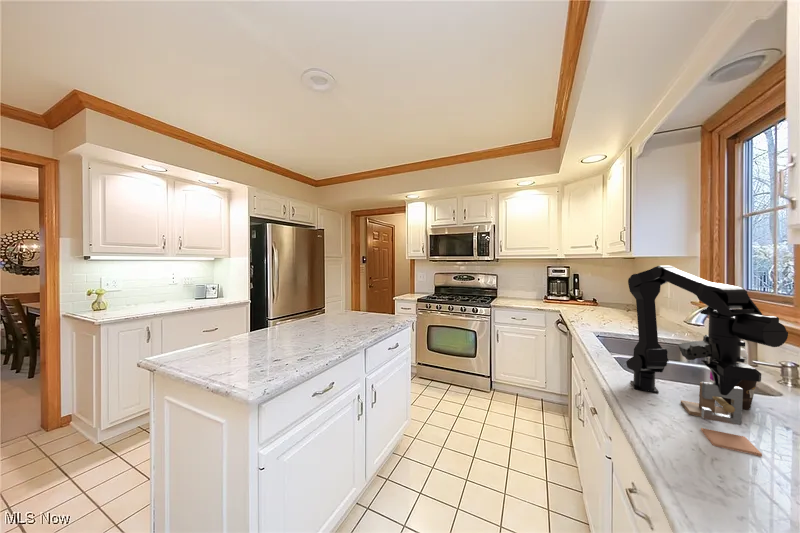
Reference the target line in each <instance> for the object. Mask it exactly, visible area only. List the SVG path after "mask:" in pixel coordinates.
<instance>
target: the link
mask: <svg viewBox="0 0 800 533" xmlns="http://www.w3.org/2000/svg"><path fill="white" fill-rule="evenodd" d="M702 382H703V384H702V396H703V397H704V398H705V399H711V400H712V397H713V396H716V397H722V398H728V399H731V405H732V406H733V407H734V408H735V411H734V412H733V413H729V415H725V414H719V413H714V412H712V410H711V409H710V408H706V407H702V413H701V416H702V417H701V416H700V417H701V418H703V419H706V420H711V421H716V422H719V423H721V422H722V423H725V424H731V425H738V426H742V424H743V410H742V403H743V389H742V388H741V387H737V386H735V387H734V388H733V389H732V390H731V391H730V393H729V394H728V395H722V394H721V393H720V389H719V384H716V383H710V381H702Z"/></svg>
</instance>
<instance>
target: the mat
mask: <svg viewBox="0 0 800 533" xmlns="http://www.w3.org/2000/svg"><path fill="white" fill-rule="evenodd" d="M700 431H701V432H702V433H703V434H704V436H705V437H706V439H708V441H709V442H710V443H711V444H712V446H714V447H719V448H723V449H727V450H731V451H736V452H740V453H745V454H750V455H755V456H758V457H763V453H762V452H761V451H760V450H759V449H758V448H757V447H756V446H755V445H754V444H753V443H752V442H751V441H750V440H749V439H748V438H747V437H746V436H743V435H739V434H738V435H737V434H733V433H728V432H724V431H720V430H719V431H718V430H713V429H709V428H704V427H701V428H700Z"/></svg>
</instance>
